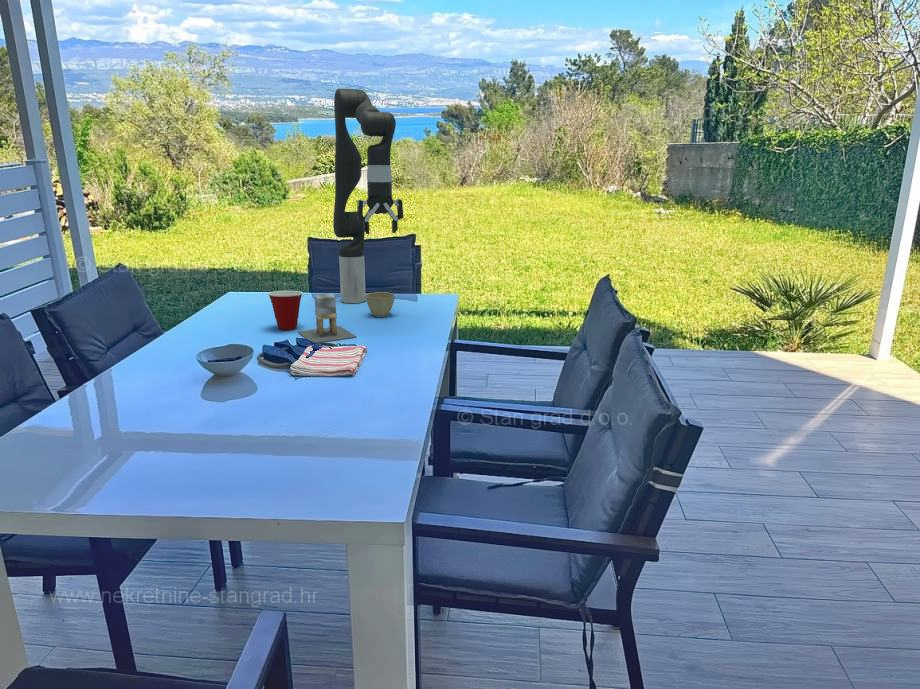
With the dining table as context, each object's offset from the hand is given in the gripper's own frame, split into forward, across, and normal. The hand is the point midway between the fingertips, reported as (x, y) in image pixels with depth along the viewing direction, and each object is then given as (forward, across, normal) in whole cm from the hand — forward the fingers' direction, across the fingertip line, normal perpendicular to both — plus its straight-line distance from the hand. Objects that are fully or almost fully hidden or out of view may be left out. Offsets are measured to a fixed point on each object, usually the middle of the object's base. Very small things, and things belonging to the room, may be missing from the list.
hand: (380, 233), depth 211 cm
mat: (+30, +19, +5) cm, 36 cm away
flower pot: (+30, -3, -14) cm, 33 cm away
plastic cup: (+30, +30, -7) cm, 43 cm away
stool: (+30, +19, +5) cm, 36 cm away
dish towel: (+31, +23, +33) cm, 51 cm away
